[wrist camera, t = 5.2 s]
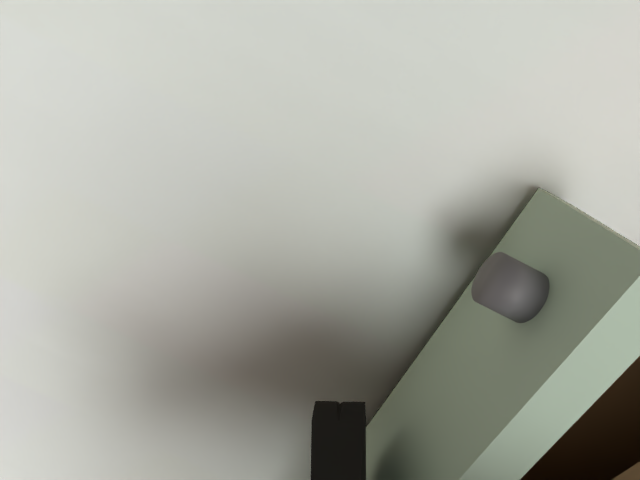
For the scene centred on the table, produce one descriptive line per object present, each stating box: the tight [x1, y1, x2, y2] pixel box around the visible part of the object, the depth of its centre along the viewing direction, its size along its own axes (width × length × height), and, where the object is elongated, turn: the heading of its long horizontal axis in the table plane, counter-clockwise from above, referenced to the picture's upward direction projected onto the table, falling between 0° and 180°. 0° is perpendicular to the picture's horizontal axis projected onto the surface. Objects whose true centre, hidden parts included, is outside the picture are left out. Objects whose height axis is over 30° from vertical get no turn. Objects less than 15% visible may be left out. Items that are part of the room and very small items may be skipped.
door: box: [366, 188, 640, 480], centre depth 12 cm, size 16×2×5 cm, turn 154°
